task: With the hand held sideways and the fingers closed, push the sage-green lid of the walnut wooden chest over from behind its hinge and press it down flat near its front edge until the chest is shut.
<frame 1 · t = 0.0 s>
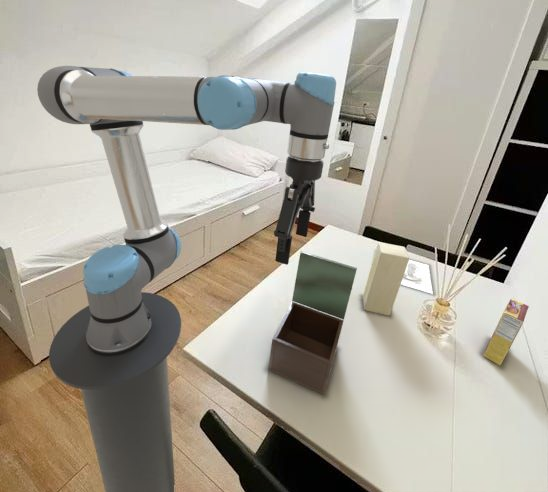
hand: (292, 247, 67), 28 cm above the table, tool pointing down, fingers open, 13 cm apart
candy box: (494, 352, 80), on the table
chest: (304, 358, 72), on the table
toy refrigerator: (375, 305, 93), on the table
chest lid: (322, 285, 72), point 17 cm above the table, hinge at 93.0°
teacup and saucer: (402, 270, 113), on the table
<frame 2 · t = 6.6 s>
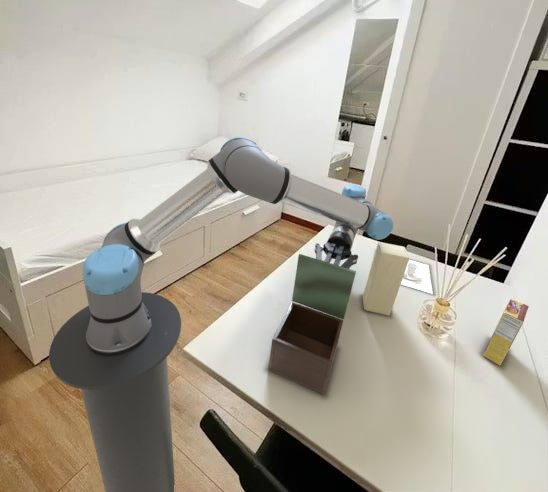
hand: (322, 284, 71), 18 cm above the table, tool horizontal, fingers closed
chest lid: (321, 287, 71), point 17 cm above the table, hinge at 87.2°, touching gripper
everything else where it was.
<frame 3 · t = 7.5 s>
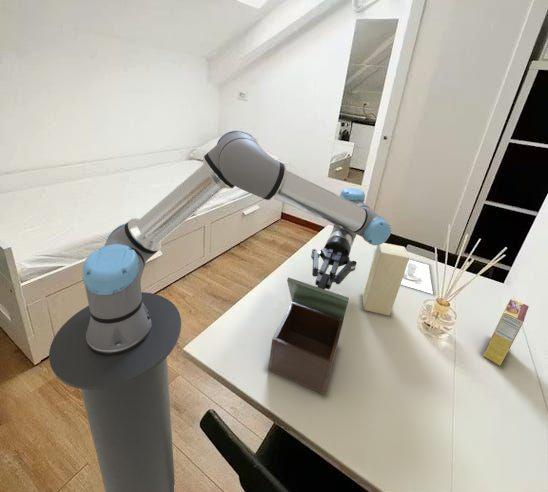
hand: (319, 292, 68), 18 cm above the table, tool horizontal, fingers closed
chest lid: (317, 299, 68), point 16 cm above the table, hinge at 56.9°, touching gripper
everything else where it was.
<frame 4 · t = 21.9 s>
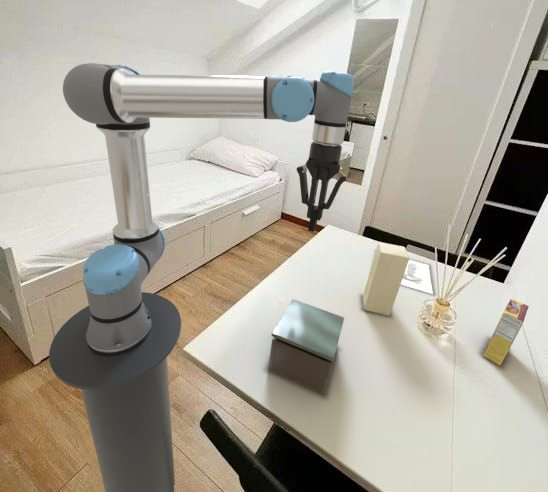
hand: (312, 229, 79), 26 cm above the table, tool pointing down, fingers closed
chest lid: (310, 326, 67), point 11 cm above the table, hinge at 6.7°
everything else where it was.
at the end: chest lid at +7° (first picture: +93°) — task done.
